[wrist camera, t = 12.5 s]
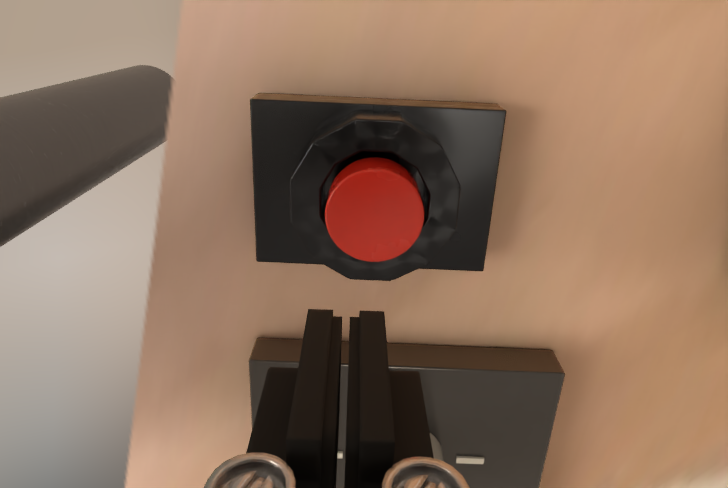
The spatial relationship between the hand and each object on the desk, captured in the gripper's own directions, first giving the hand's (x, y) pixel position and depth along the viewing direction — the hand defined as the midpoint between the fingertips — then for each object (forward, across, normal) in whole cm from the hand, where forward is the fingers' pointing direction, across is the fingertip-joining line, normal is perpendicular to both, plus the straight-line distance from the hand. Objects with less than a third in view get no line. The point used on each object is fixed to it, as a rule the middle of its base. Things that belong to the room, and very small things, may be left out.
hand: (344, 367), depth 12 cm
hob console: (+13, -3, +14) cm, 19 cm away
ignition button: (+10, -1, 0) cm, 10 cm away
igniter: (+13, -1, 0) cm, 13 cm away
